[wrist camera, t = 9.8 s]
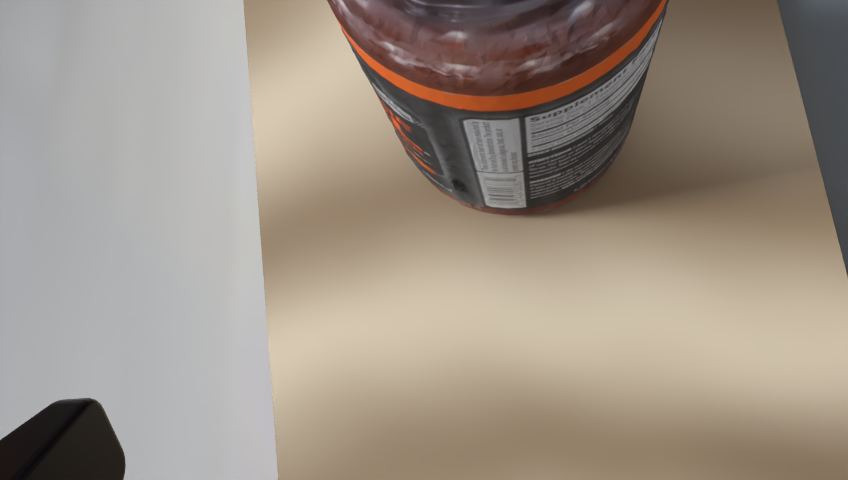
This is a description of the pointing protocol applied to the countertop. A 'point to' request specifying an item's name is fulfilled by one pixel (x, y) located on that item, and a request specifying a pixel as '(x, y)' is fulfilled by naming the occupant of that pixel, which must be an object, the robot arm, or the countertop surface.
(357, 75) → the birch board
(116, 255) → the countertop surface
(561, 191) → the supplement bottle
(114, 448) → the robot arm
